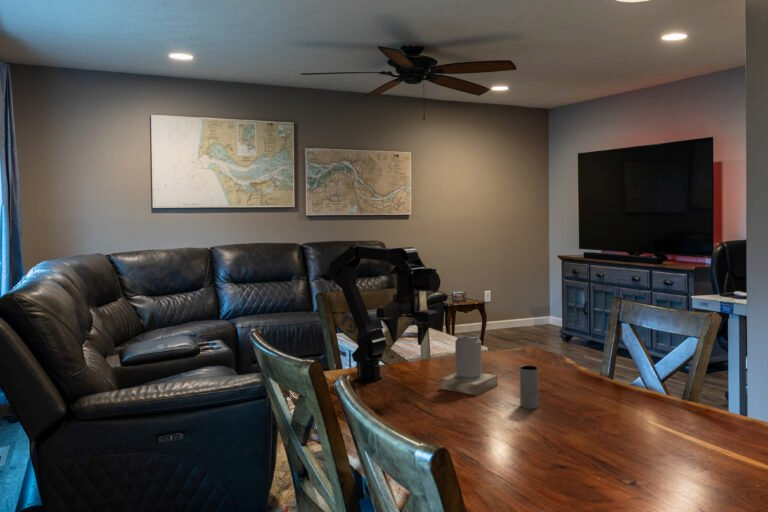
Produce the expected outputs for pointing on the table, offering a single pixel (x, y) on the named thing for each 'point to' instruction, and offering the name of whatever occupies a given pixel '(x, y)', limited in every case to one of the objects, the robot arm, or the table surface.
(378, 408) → the table surface
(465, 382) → the pedestal
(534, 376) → the grey cylinder
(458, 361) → the can
